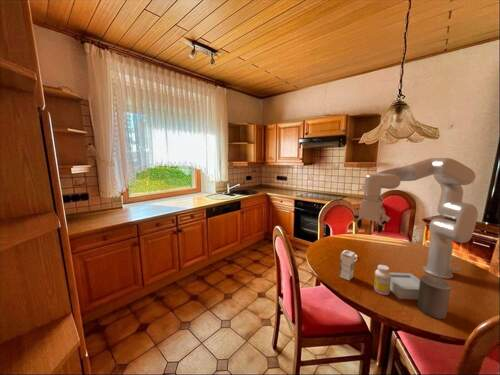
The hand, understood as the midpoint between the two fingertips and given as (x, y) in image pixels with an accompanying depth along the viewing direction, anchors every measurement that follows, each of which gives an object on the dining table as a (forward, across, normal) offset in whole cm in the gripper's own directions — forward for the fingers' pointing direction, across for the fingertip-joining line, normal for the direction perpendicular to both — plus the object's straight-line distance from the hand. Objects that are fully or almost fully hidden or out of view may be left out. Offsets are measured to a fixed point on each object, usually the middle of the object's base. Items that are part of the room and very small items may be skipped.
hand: (369, 229), depth 109 cm
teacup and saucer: (+29, +12, -18) cm, 36 cm away
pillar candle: (+28, -28, +5) cm, 40 cm away
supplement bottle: (+28, -10, +6) cm, 30 cm away
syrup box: (+28, +8, +6) cm, 30 cm away
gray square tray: (+28, -17, -4) cm, 33 cm away
